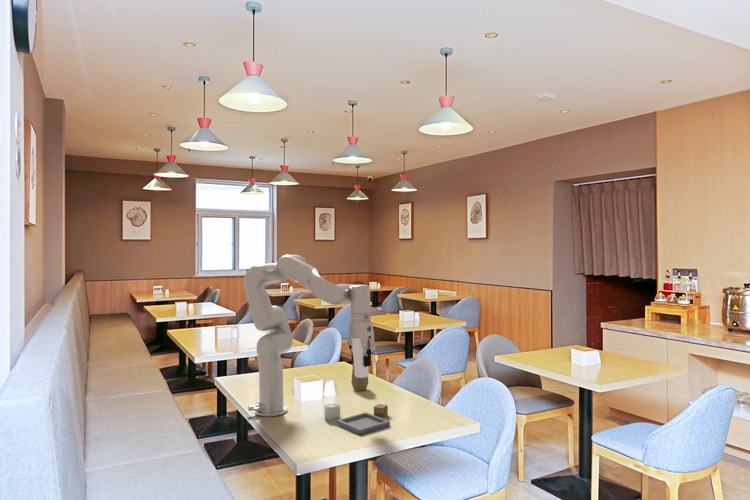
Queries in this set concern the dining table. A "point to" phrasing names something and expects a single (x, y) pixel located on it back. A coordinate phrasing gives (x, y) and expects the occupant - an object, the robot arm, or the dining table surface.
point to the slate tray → (363, 423)
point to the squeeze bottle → (359, 382)
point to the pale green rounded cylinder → (332, 412)
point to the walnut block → (381, 410)
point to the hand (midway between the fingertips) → (361, 364)
